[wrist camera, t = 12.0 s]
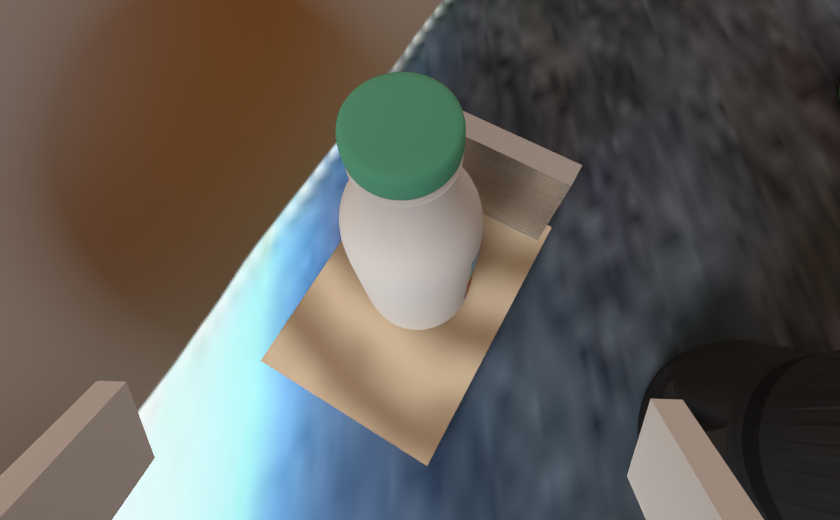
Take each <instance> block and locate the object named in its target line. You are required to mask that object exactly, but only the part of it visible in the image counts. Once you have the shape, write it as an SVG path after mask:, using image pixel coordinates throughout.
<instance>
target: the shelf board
mask: <svg viewBox="0 0 840 520" xmlns="http://www.w3.org/2000/svg"><path fill="white" fill-rule="evenodd" d="M551 228H552V227H550V226H548V225H547V226H546V228H545V229H544V231H543V232H542V234H541V236H540V237H539V239H538V240H535V239H533V238H531V237H529V236H527V235H525V234H523V233H521V232H519V231H517V230H515V229H513V228H511V227H509V226H507V225H505V224H503V223H501V222H499V221H497V220H495V219H493V218H491V217H489V216H487V215H485V214H483V234H482V240H481V246H480V251H479V255H478V259H477V262H476V266H475V270H474V273H473V277H472V280H471V284H470V287H469V290H468V293H467V296H466V298H465V301H464V303H463V305H462V306H461V308H460V309H459V310H458V312H457V313H456V314H455V315H454V316H453V317H452V318H450V319H449V320H448V321H446V322H445V323H443V324H441V325H439V326H437V327H434V328H430V329H424V330H411V329H405V328H402V327H399V326H397V325H395V324H393V323H391V322H389V321H388V320H387V319H385V318H384V317H383V316H382V315H381V314H380V313H379V312H378V310H377V309H376V308H375V306H374V305H373V303H372V302H371V300H370V298H369V297H368V295H367V293H366V291H365V290H364V288H363V286H362V284H361V282H360V280H359V279H358V277H357V275H356V273H355V271H354V269H353V267H352V265H351V263H350V261H349V259H348V256H347V254H346V252H345V249H344V246H343V243H342V241H341V242H340V244H339V245H338V247H337V248H336V250H335V251H334V253H333V254H332V256H331V257H330V259H329V260H328V262H327V263H326V265H325V266H324V268H323V269H322V271H321V272H320V274H319V275H318V277H317V278H316V279H315V281H314V282H313V284H312V285H311V287H310V288H309V290H308V291H307V293H306V294H305V296H304V297H303V299H302V300H301V302H300V303H299V305H298V306H297V308H296V309H295V311H294V312H293V314H292V315H291V317H290V318H289V320H288V321H287V323H286V324H285V326H284V327H283V329H282V330H281V332H280V333H279V335H278V336H277V338H276V339H275V341H274V342H273V344H272V345H271V346H270V348H269V349H268V351H267V352H266V354H265V355H264V357H263V358H262V360H261V361H262V362H264V363H265V364H267V365H269V366H270V367H272V368H273V369H275V370H276V371H278V372H280V373H281V374H283V375H284V376H286V377H288V378H289V379H291V380H292V381H294V382H295V383H297V384H299V385H300V386H302V387H303V388H305V389H306V390H308V391H310V392H311V393H313V394H314V395H316V396H318V397H319V398H321V399H322V400H324V401H325V402H327V403H329V404H330V405H332V406H333V407H335V408H336V409H338V410H340V411H341V412H343V413H344V414H346V415H348V416H349V417H351V418H352V419H354V420H355V421H357V422H359V423H360V424H362V425H363V426H365V427H366V428H368V429H370V430H371V431H373V432H374V433H376V434H378V435H379V436H381V437H382V438H384V439H385V440H387V441H389V442H390V443H392V444H393V445H395V446H396V447H398V448H400V449H401V450H403V451H404V452H406V453H408V454H409V455H411V456H412V457H414V458H415V459H417V460H419V461H420V462H422V463H423V464H425V465H426V466H427V465H428V463H429V461H430V459H431V457H432V456H433V454H434V452H435V450H436V448H437V446H438V444H439V442H440V440H441V438H442V436H443V435H444V433H445V431H446V429H447V427H448V425H449V423H450V421H451V419H452V417H453V415H454V413H455V412H456V410H457V408H458V406H459V404H460V402H461V400H462V398H463V396H464V394H465V392H466V390H467V389H468V387H469V385H470V383H471V381H472V379H473V377H474V375H475V373H476V371H477V369H478V367H479V366H480V364H481V362H482V360H483V358H484V356H485V354H486V352H487V350H488V348H489V346H490V344H491V343H492V341H493V339H494V337H495V335H496V333H497V331H498V329H499V327H500V325H501V323H502V321H503V320H504V318H505V316H506V314H507V312H508V310H509V308H510V306H511V304H512V302H513V300H514V299H515V297H516V295H517V293H518V291H519V289H520V287H521V285H522V283H523V281H524V279H525V277H526V276H527V274H528V272H529V270H530V268H531V266H532V264H533V262H534V260H535V258H536V256H537V254H538V253H539V251H540V249H541V247H542V245H543V243H544V241H545V239H546V237H547V235H548V233H549V231H550V230H551Z"/></svg>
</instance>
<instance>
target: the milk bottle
mask: <svg viewBox="0 0 840 520" xmlns="http://www.w3.org/2000/svg"><path fill="white" fill-rule="evenodd" d="M465 141H466V122H465V117H464V114H463V111H462V108H461V106H460V104H459V102H458V100H457V98H456V97H455V96H454V94H453V93H452V92H451V91H450V90H449V89H448V88H447V87H446V86H444V85H443V84H442V83H440V82H438V81H437V80H435V79H433V78H430V77H428V76H425V75H422V74H418V73H412V72H393V73H387V74H383V75H380V76H377V77H374V78H372V79H370V80H368V81H366V82H365V83H363V84H361V85H360V86H358V87H357V88H356V89H355V90H354V91H353V92H352V93H351V94H350V95H349V96H348V97H347V98H346V100H345V101H344V103H343V105H342V106H341V109H340V111H339V114H338V117H337V122H336V142H337V146H338V150H339V153H340V157H341V159H342V161H343V164H344V166H345V169H346V172H347V175H348V177H349V181H348V183H347V185H346V187H345V189H344V192H343V196H342V199H341V204H340V212H339V227H340V233H341V239H342V243H343V246H344V249H345V252H346V254H347V256H348V259H349V261H350V263H351V265H352V267H353V269H354V271H355V273H356V275H357V277H358V279H359V280H360V282H361V284H362V286H363V288H364V290H365V291H366V293H367V295H368V297H369V298H370V300H371V302H372V303H373V305H374V306H375V308H376V309H377V310H378V312H379V313H380V314H381V315H382V316H383V317H384V318H385V319H387V320H388V321H389V322H391V323H393V324H395V325H397V326H399V327H402V328H405V329H411V330H424V329H430V328H434V327H437V326H439V325H441V324H443V323H445V322H446V321H448V320H449V319H450V318H452V317H453V316H454V315H455V314H456V313H457V312H458V310H459V309H460V308H461V306H462V305H463V303H464V301H465V298H466V296H467V293H468V290H469V287H470V284H471V280H472V277H473V273H474V270H475V266H476V262H477V259H478V255H479V251H480V246H481V240H482V234H483V211H482V205H481V201H480V198H479V194H478V191H477V189H476V187H475V185H474V183H473V181H472V179H471V177H470V176H469V174H468V173H467V172H466V170H465V169H464V168H463V167H462V164H463V153H464V148H465Z"/></svg>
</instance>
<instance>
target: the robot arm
mask: <svg viewBox="0 0 840 520" xmlns="http://www.w3.org/2000/svg"><path fill="white" fill-rule="evenodd" d="M153 459H154V455H153V452H152V449H151V447H150V444H149V441H148V439H147V436H146V433H145V431H144V428H143V425H142V423H141V420H140V417H139V414H138V412H137V409H136V406H135V404H134V401H133V398H132V396H131V393H130V390H129V388H128V385H127V382H117V381H97V382H96V383H94V384H93V385H92V386H91V388H89V389H88V391H86V392H85V393H84V395H82V396H81V397H80V398H79V399H78V400H77V401H76V402H75V403H74V404H73V405H72V406H71V407H70V408H69V409H68V410H67V411H66V412H65V413H64V414H63V415H62V416H61V417H60V418H59V419H58V420H57V421H56V422H55V423H54V424H53V425H52V426H51V427H50V428H49V429H48V430H47V431H46V432H45V433H44V434H43V435H42V436H40V437H39V438H38V440H36V442H34V443H33V444H32V445H31V446H30V447H29V449H27V450H26V451H25V452H24V453H23V454H22V455H21V456H20V457H19V458H18V459H17V460H16V461H15V462H14V463H13V464H12V465H11V466H10V467H9V468H8V469H7V470H6V471H5V472H4V473H3V474H2V475H1V476H0V520H112V519H113V517H114V516H115V514H116V513H117V511H118V510H119V508H120V507H121V506H122V504H123V503H124V501H125V500H126V498H127V497H128V495H129V494H130V493H131V491H132V490H133V488H134V487H135V485H136V484H137V482H138V481H139V480H140V478H141V477H142V475H143V474H144V472H145V471H146V469H147V468H148V466H149V465H150V464H151V462H152V461H153ZM627 477H628V479H629V482H630V484H631V486H632V489H633V491H634V493H635V496H636V498H637V500H638V502H639V505H640V507H641V509H642V512H643V514H644V516H645V519H646V520H840V350H837V351H830V352H825V353H817V354H814V353H810V352H806V351H802V350H797V349H792V348H788V347H783V346H778V345H775V344H772V343H767V342H761V341H753V340H730V341H723V342H717V343H713V344H709V345H704V346H700V347H697V348H694V349H691V350H689V351H686V352H684V353H682V354H680V355H679V356H677V357H676V358H674V359H673V360H671V361H670V362H669V363H668V364H666V365H665V366H664V367H663V368H662V369H661V370H660V372H659V373H658V374H657V375H656V377H655V378H654V379H653V381H652V382H651V384H650V386H649V388H648V390H647V392H646V394H645V397H644V399H643V402H642V406H641V410H640V414H639V422H638V442H637V445H636V448H635V451H634V455H633V458H632V461H631V465H630V468H629V471H628V474H627Z"/></svg>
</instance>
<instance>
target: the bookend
mask: <svg viewBox="0 0 840 520" xmlns="http://www.w3.org/2000/svg"><path fill="white" fill-rule="evenodd" d="M463 114H464V117H465V122H466V141H465V148H464V153H463V164H462V167H463V168H464V169H465V170H466V172H467V173H468V174H469V176H470V177H471V179H472V181H473V183H474V185H475V187H476V189H477V191H478V194H479V198H480V201H481V205H482V211H483V214H485V215H487V216H489V217H491V218H493V219H495V220H497V221H499V222H501V223H503V224H505V225H507V226H509V227H511V228H513V229H515V230H517V231H519V232H521V233H523V234H525V235H527V236H529V237H531V238H533V239H535V240H538V239H539V237H540V236H541V234H542V232H543V231H544V229H545V228H546V226H547V224H548V223H549V221H550V219H551V218H552V216H553V215H554V213H555V211H556V210H557V208H558V207H559V205H560V203H561V202H562V200H563V199H564V197H565V195H566V194H567V192H568V191H569V189H570V187H571V186H572V184H573V182H574V180H575V178H576V176H577V174H578V172H579V170H580V168H581V167H582V165H580V164H578V163H576V162H574V161H572V160H569V159H567V158H565V157H563V156H561V155H559V154H556V153H554V152H552V151H550V150H548V149H545V148H543V147H541V146H539V145H537V144H534V143H532V142H530V141H528V140H526V139H524V138H521V137H519V136H517V135H515V134H513V133H510V132H508V131H506V130H504V129H502V128H500V127H497V126H495V125H493V124H491V123H489V122H486V121H484V120H482V119H480V118H478V117H476V116H473V115H471V114H469V113H467V112H465V111H463Z"/></svg>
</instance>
